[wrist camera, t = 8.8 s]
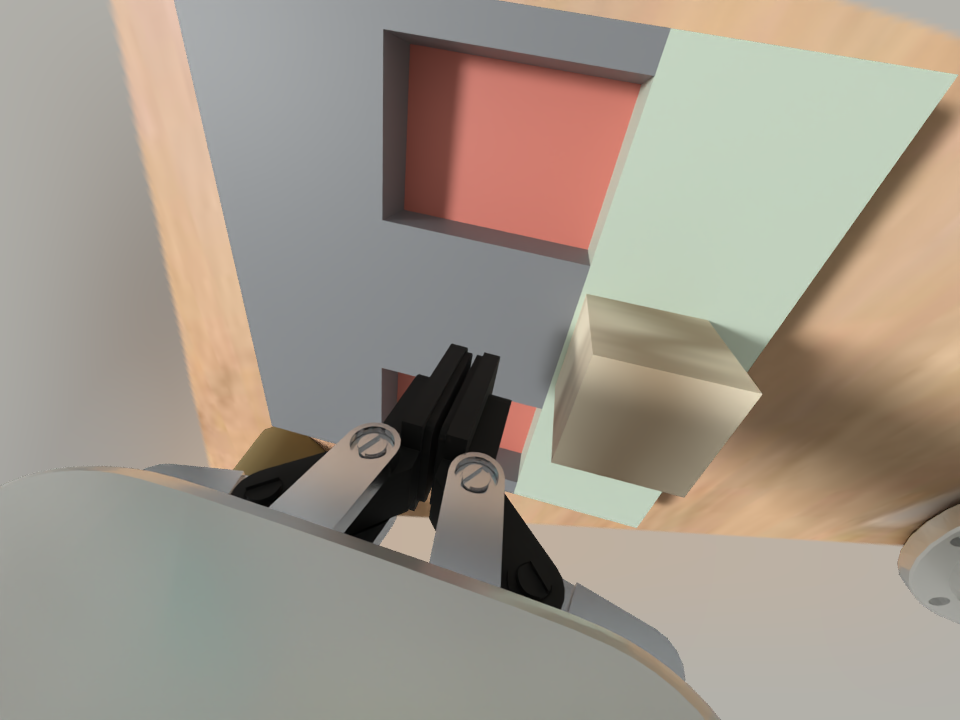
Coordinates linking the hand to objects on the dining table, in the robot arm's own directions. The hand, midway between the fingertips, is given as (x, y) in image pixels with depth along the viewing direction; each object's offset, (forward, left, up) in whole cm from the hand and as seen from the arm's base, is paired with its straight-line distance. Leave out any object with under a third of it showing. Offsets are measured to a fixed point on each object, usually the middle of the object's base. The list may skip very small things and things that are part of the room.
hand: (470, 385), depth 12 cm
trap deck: (+1, 0, -6) cm, 6 cm away
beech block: (-5, 0, -4) cm, 7 cm away
